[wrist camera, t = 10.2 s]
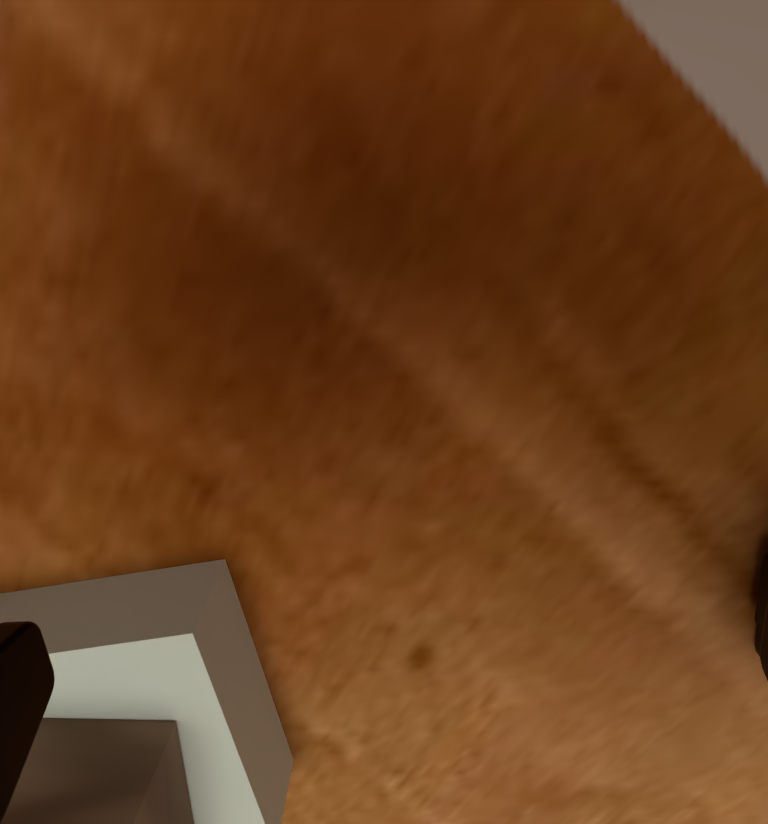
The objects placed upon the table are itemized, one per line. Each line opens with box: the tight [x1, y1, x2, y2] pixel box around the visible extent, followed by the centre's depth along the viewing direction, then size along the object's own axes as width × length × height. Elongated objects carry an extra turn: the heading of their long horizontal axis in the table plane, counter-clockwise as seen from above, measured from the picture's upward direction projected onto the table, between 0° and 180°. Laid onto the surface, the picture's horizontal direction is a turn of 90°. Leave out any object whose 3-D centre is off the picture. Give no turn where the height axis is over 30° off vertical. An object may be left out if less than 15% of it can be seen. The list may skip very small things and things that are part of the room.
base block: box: [0, 559, 293, 824], centre depth 23 cm, size 9×9×4 cm
